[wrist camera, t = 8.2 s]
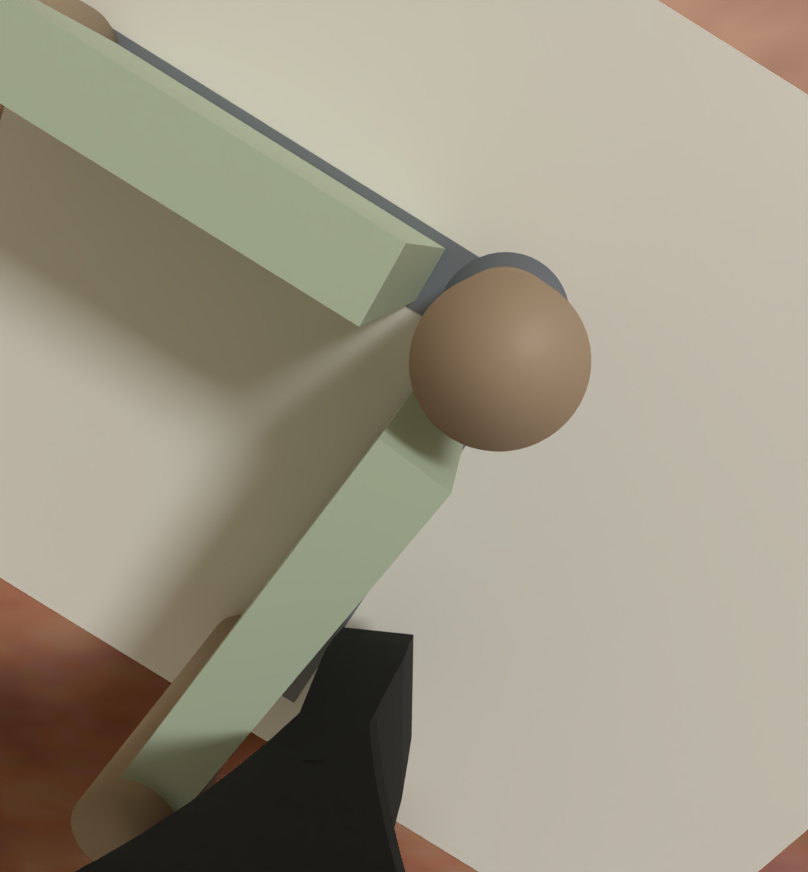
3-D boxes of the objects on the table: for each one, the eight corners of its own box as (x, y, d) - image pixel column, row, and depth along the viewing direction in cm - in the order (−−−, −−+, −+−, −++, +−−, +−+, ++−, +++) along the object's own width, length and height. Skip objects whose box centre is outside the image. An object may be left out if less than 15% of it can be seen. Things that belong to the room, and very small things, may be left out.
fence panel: (198, 650, 12) (53, 833, 8) (413, 360, 10) (353, 427, 6) (258, 692, 12) (141, 895, 8) (485, 415, 10) (469, 516, 6)
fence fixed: (518, 390, 10) (523, 483, 6) (22, 83, 10) (-319, -40, 6) (577, 301, 9) (630, 335, 5) (55, -24, 9) (-291, -240, 5)
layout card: (638, 955, 13) (641, 973, 13) (-105, 499, 13) (-120, 505, 12) (1275, 401, 8) (1305, 407, 8) (150, -307, 8) (136, -331, 8)
